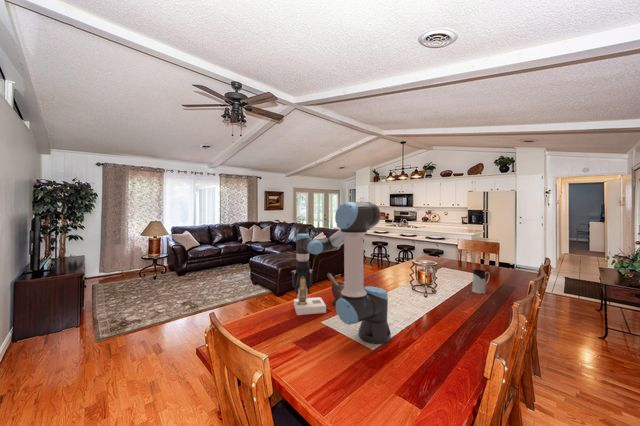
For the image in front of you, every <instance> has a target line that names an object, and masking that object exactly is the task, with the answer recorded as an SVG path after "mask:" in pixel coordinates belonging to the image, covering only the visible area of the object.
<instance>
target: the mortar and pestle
mask: <svg viewBox="0 0 640 426" xmlns="http://www.w3.org/2000/svg"><path fill="white" fill-rule="evenodd" d="M326 278H328V280H329V281H330V282H331V292H332V295H333V297H334V299H333V300H332V304H333V305H334V306H336V301H337V300H338V299H340V298H341V291H342V290H343V289H344V281H339V280H337V281H336V280H335V278H334V276H333V275H332V273H330V272H328V273H327V274H326Z"/></svg>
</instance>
